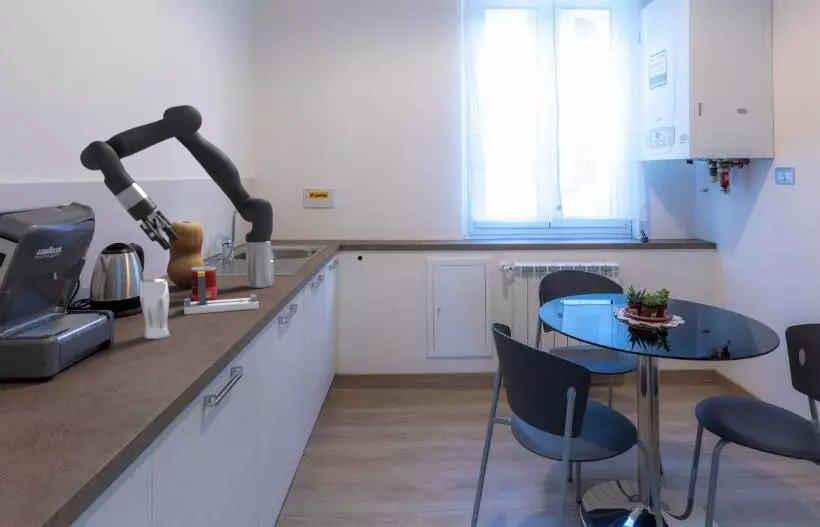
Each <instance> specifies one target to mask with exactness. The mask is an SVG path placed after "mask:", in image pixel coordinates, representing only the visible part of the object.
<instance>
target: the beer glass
mask: <svg viewBox="0 0 820 527" xmlns="http://www.w3.org/2000/svg"><path fill="white" fill-rule="evenodd" d="M168 279H169V278H165V277H152V278H151V277H150V278H145V279H141V280H140V281H139V298H140V299H139V300H140V305H141V306H140V307H141V310H142V313H143V317H144V321H145V323H144V324H145V330H144V339H147V340H161V339H166V338H168V337H170V336H171V332H170V329H169V325H168V317H169V309H170V299H171V298H170V286H169V281H168Z"/></svg>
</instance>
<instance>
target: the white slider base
mask: <svg viewBox="0 0 820 527" xmlns="http://www.w3.org/2000/svg"><path fill="white" fill-rule="evenodd" d="M249 296H250V297H245V298H244V297H243V298H242V297H241V298H228V299H216V300H213V301H206V304H199V302H195V301H191V298H184V302H183V310H184V315H194V314H206V313H220V312H230V311H243V310H244V311H246V310H259V309H260V308H259V307H260V305H259V301H258V296H257V293H250V294H249Z"/></svg>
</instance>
